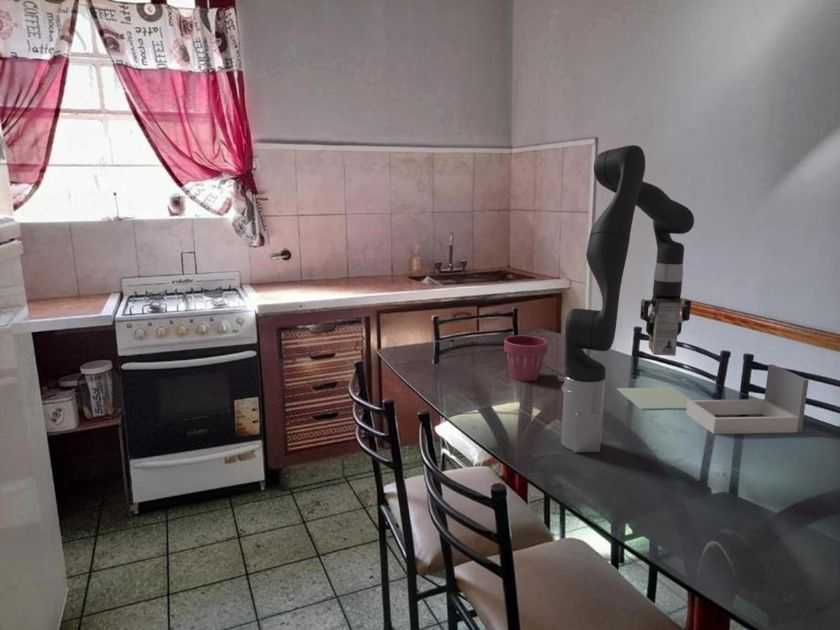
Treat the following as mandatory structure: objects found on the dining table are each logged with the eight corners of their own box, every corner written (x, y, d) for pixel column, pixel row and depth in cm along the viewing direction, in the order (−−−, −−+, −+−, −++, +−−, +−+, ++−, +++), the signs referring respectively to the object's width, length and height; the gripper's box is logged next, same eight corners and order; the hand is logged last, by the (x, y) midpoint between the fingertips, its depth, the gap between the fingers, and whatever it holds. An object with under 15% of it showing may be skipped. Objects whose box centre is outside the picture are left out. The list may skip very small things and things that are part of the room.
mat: (703, 408, 168) (703, 407, 168) (641, 409, 167) (641, 408, 167) (672, 388, 185) (673, 387, 185) (616, 389, 184) (616, 388, 184)
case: (801, 432, 151) (808, 379, 148) (713, 433, 150) (719, 381, 147) (766, 412, 165) (772, 364, 162) (686, 414, 163) (690, 365, 161)
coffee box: (647, 347, 178) (651, 294, 175) (669, 348, 177) (674, 295, 174) (653, 355, 169) (657, 300, 166) (676, 356, 168) (681, 300, 165)
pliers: (566, 390, 180) (548, 375, 194) (566, 395, 180) (547, 380, 195) (597, 388, 181) (576, 374, 196) (596, 393, 182) (576, 378, 196)
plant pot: (543, 385, 188) (544, 346, 185) (499, 381, 192) (500, 343, 190) (548, 373, 201) (550, 336, 199) (507, 369, 205) (508, 333, 203)
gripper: (649, 280, 165) (644, 338, 168) (699, 280, 166) (693, 337, 169) (638, 277, 172) (633, 332, 175) (685, 277, 173) (680, 331, 176)
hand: (663, 334), depth 172 cm, fingers closed on coffee box, 7 cm apart
